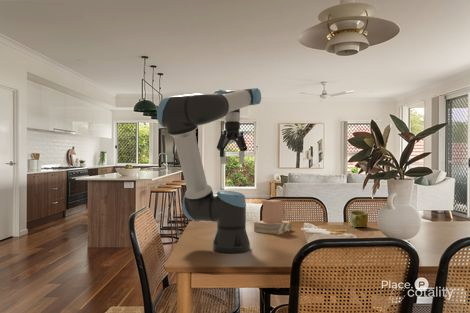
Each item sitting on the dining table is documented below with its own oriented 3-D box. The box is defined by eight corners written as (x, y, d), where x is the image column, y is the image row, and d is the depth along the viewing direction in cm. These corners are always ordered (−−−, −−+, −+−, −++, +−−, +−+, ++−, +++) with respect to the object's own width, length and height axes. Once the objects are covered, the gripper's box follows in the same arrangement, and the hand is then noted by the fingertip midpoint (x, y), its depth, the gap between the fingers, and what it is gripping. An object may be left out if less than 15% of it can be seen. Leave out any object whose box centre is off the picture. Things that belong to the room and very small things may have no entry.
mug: (353, 220, 201) (356, 205, 198) (369, 228, 194) (373, 212, 190) (341, 227, 193) (344, 211, 190) (357, 236, 186) (361, 219, 183)
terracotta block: (273, 223, 177) (273, 201, 178) (263, 221, 182) (263, 200, 183) (282, 221, 182) (282, 200, 182) (271, 220, 187) (271, 199, 187)
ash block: (278, 235, 172) (277, 225, 172) (254, 232, 181) (254, 222, 181) (291, 231, 183) (291, 221, 184) (268, 228, 192) (268, 219, 192)
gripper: (243, 124, 189) (243, 163, 188) (209, 120, 170) (209, 163, 170) (253, 123, 184) (254, 163, 183) (220, 118, 165) (220, 163, 165)
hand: (232, 163), depth 176 cm, fingers open, 13 cm apart
